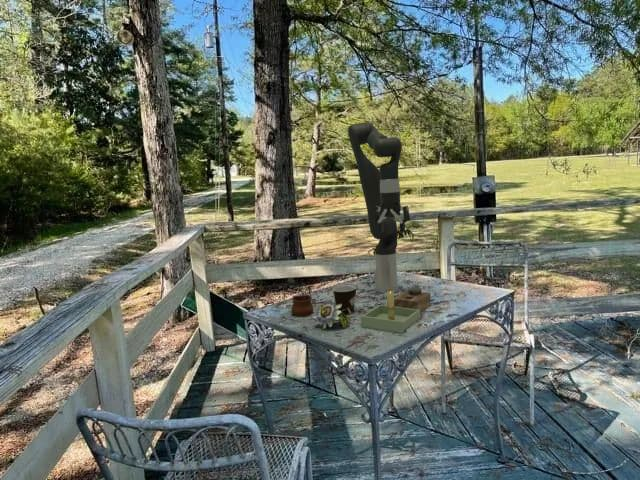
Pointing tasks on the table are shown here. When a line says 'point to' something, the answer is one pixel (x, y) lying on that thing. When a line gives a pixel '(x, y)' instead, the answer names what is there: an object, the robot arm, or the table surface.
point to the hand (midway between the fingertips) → (392, 232)
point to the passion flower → (331, 314)
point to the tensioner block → (413, 299)
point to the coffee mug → (345, 298)
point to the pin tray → (381, 322)
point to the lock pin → (390, 305)
